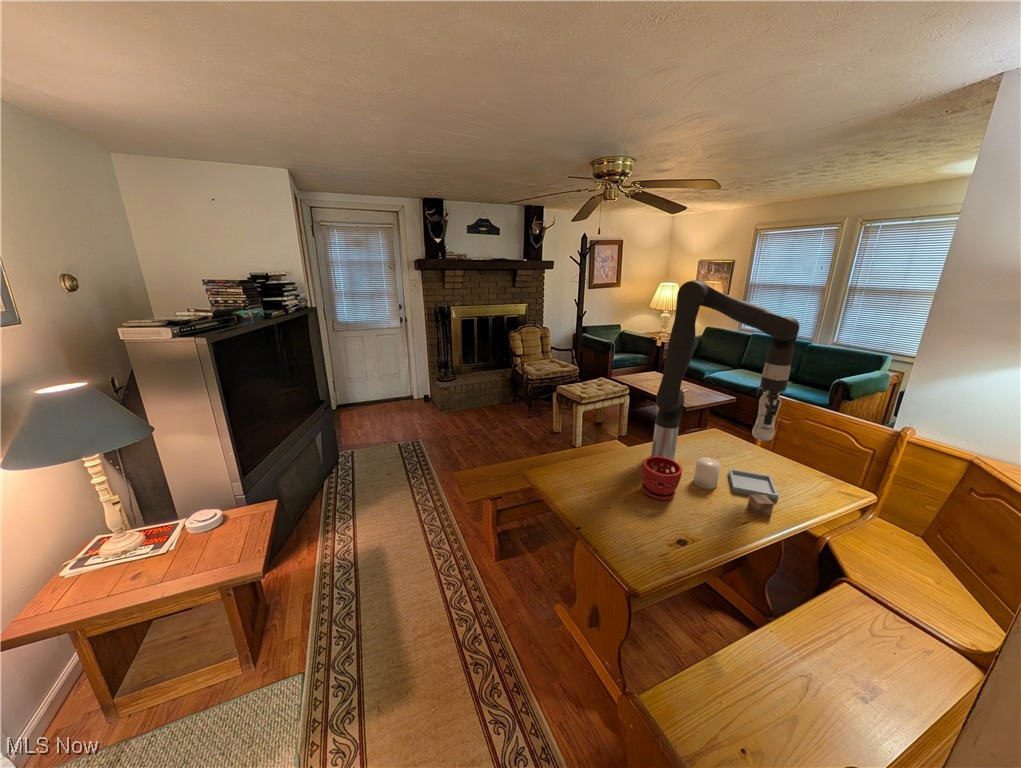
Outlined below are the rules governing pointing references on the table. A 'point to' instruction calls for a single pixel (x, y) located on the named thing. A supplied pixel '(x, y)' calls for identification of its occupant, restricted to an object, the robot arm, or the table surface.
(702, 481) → the white domed cylinder
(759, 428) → the plastic bottle
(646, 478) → the plant pot
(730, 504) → the table surface
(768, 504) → the walnut block
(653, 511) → the table surface
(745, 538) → the table surface
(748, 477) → the tray
